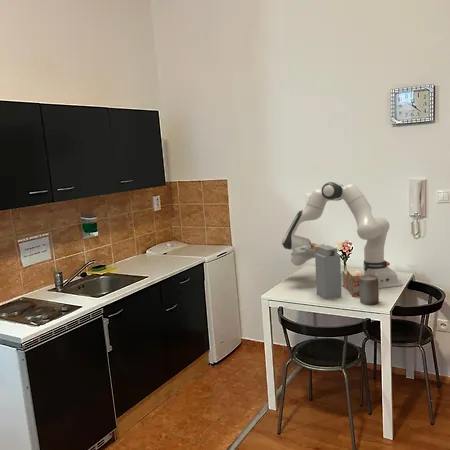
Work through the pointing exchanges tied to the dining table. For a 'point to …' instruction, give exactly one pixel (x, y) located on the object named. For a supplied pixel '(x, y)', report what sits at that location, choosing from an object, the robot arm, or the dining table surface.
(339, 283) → the slate-grey stand
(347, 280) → the stack of blocks
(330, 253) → the oak bar
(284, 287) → the dining table surface
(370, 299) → the pillar candle
